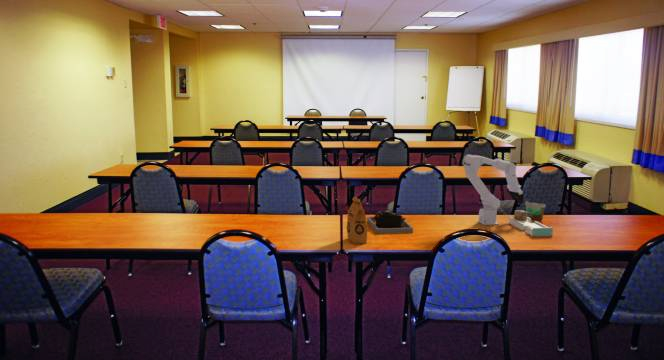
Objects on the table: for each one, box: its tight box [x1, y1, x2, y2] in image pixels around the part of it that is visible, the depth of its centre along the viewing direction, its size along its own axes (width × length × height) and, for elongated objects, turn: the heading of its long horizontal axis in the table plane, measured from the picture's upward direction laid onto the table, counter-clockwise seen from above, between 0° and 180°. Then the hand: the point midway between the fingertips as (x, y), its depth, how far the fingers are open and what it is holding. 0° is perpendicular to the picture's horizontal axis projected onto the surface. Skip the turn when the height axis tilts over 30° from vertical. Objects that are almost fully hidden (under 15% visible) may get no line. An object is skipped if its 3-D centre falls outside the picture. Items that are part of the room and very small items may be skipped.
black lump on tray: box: [373, 209, 406, 229], centre depth 287 cm, size 18×12×10 cm
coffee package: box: [346, 196, 368, 245], centre depth 260 cm, size 10×12×22 cm
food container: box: [524, 200, 547, 221], centre depth 306 cm, size 12×6×10 cm, turn 42°
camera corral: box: [366, 216, 414, 235], centre depth 289 cm, size 20×26×2 cm
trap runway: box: [508, 216, 554, 237], centre depth 285 cm, size 11×27×4 cm, turn 8°
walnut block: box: [513, 209, 527, 221], centre depth 295 cm, size 5×5×5 cm
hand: (518, 201), depth 301 cm, fingers open, 7 cm apart
